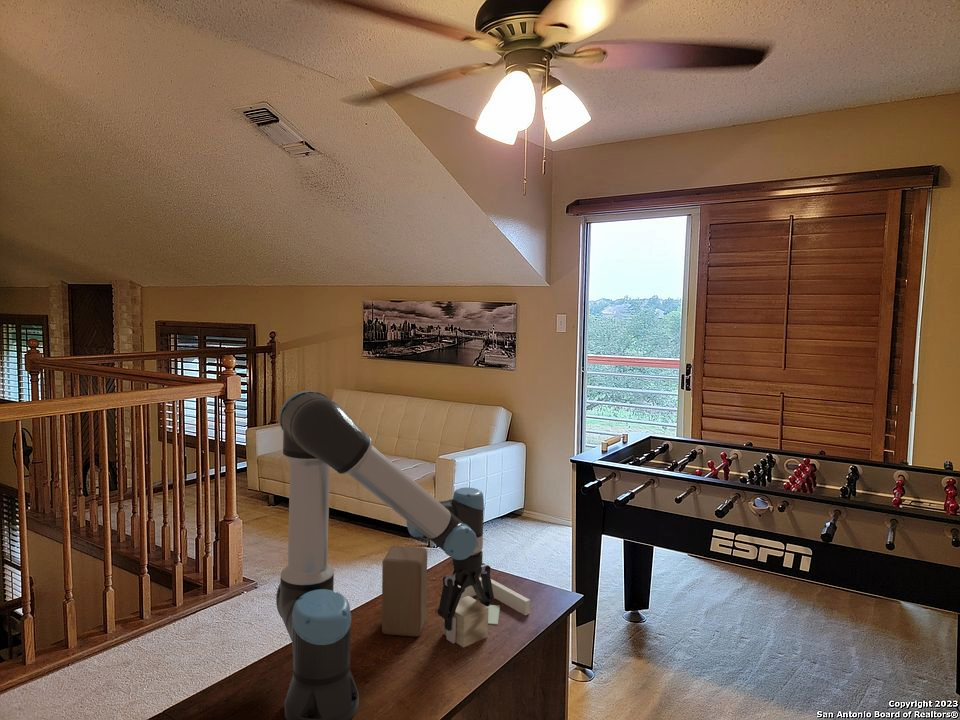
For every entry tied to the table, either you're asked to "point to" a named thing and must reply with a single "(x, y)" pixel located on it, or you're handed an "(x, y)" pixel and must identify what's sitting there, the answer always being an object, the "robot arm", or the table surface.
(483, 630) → the birch cube
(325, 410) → the robot arm
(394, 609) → the wooden block
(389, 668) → the table surface
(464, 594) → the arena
